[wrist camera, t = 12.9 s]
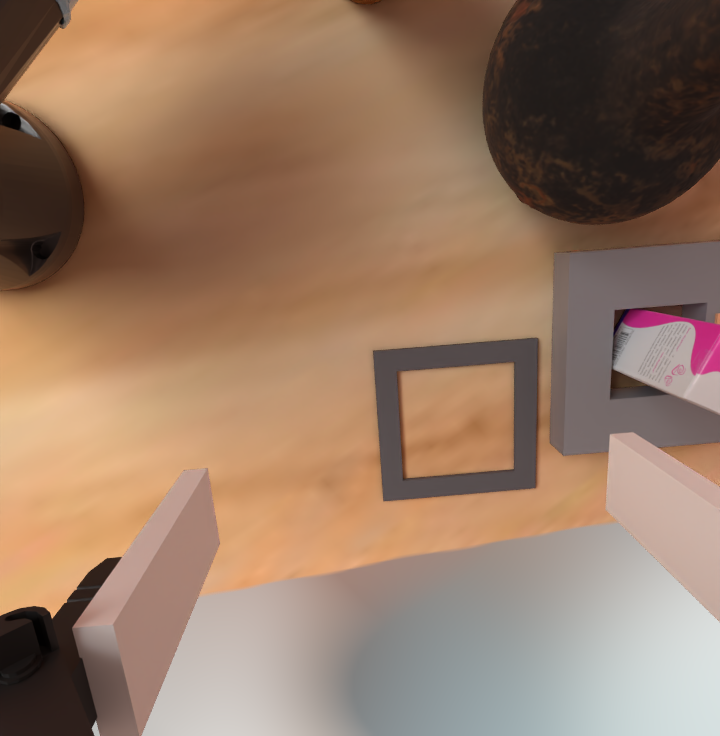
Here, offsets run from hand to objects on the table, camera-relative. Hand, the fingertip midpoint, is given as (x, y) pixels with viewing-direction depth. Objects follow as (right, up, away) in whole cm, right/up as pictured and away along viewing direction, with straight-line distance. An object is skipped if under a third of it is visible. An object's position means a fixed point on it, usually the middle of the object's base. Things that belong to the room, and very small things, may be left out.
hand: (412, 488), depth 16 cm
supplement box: (+24, +6, +29) cm, 38 cm away
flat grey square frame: (+8, -1, +30) cm, 31 cm away
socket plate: (+24, +6, +29) cm, 38 cm away
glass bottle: (+16, +25, +24) cm, 38 cm away
